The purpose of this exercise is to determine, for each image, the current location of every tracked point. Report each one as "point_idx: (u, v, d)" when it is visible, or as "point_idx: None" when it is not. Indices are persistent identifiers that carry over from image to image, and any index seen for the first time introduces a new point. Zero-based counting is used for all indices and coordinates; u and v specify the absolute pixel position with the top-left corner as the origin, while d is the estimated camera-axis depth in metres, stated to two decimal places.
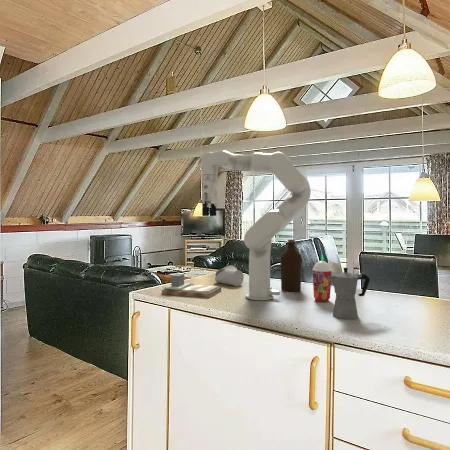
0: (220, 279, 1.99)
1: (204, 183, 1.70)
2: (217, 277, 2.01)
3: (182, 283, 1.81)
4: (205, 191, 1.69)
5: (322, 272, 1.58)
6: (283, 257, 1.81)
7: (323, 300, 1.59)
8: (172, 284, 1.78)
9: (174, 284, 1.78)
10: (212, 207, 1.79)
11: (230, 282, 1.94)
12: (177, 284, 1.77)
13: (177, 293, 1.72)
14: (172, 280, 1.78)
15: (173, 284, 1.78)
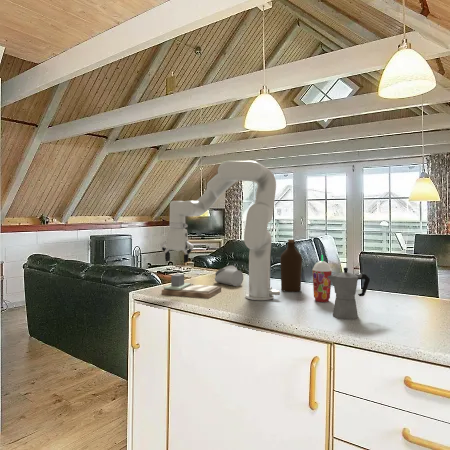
0: (220, 279, 1.99)
1: (184, 231, 1.78)
2: (217, 277, 2.01)
3: (182, 283, 1.81)
4: (186, 239, 1.78)
5: (322, 272, 1.58)
6: (283, 257, 1.81)
7: (323, 300, 1.59)
8: (172, 284, 1.78)
9: (174, 284, 1.78)
10: (168, 253, 1.82)
11: (230, 282, 1.94)
12: (177, 284, 1.77)
13: (177, 293, 1.72)
14: (172, 280, 1.78)
15: (173, 284, 1.78)
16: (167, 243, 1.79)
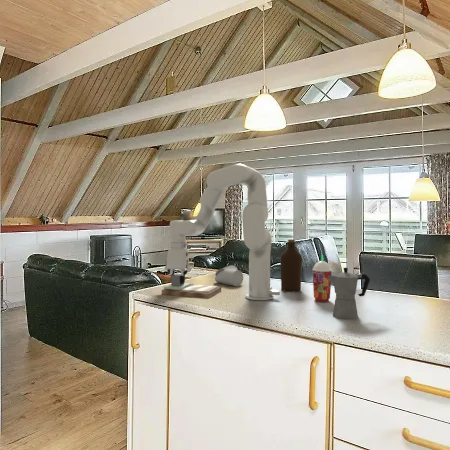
0: (220, 279, 1.99)
1: (185, 251, 1.78)
2: (217, 277, 2.01)
3: None
4: (187, 258, 1.79)
5: (322, 272, 1.58)
6: (283, 257, 1.81)
7: (323, 300, 1.59)
8: (172, 284, 1.78)
9: (174, 284, 1.78)
10: None
11: (229, 282, 1.94)
12: (177, 284, 1.77)
13: (177, 293, 1.72)
14: (172, 280, 1.78)
15: (173, 284, 1.78)
16: (168, 263, 1.80)
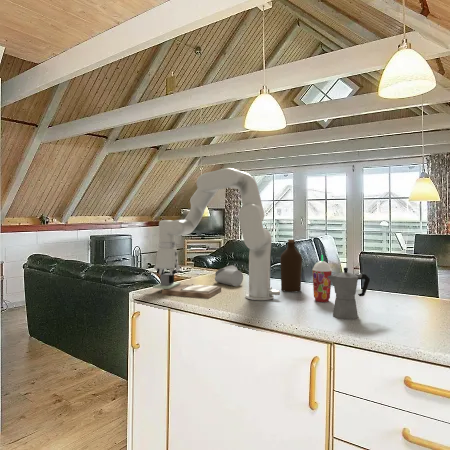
0: (220, 279, 1.99)
1: (174, 250, 1.80)
2: (217, 277, 2.01)
3: None
4: (176, 258, 1.80)
5: (322, 272, 1.58)
6: (283, 257, 1.81)
7: (323, 300, 1.59)
8: (161, 283, 1.80)
9: (163, 283, 1.80)
10: None
11: (229, 282, 1.94)
12: (166, 283, 1.79)
13: (177, 293, 1.72)
14: (161, 279, 1.80)
15: (162, 283, 1.80)
16: (157, 262, 1.81)
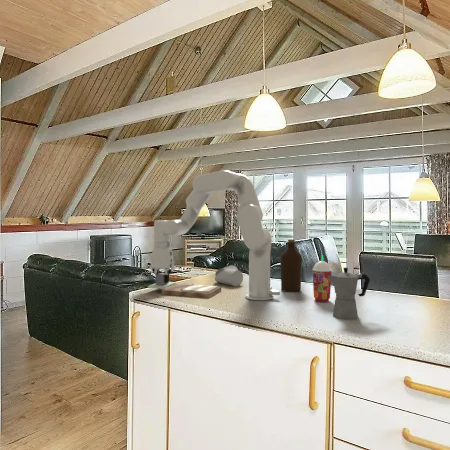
0: (220, 279, 1.99)
1: (169, 250, 1.81)
2: (217, 277, 2.01)
3: None
4: (171, 257, 1.81)
5: (322, 272, 1.58)
6: (283, 257, 1.81)
7: (323, 300, 1.59)
8: (156, 283, 1.81)
9: (158, 283, 1.81)
10: None
11: (229, 282, 1.94)
12: (161, 283, 1.80)
13: (177, 293, 1.72)
14: (156, 279, 1.81)
15: (157, 283, 1.81)
16: (152, 262, 1.82)
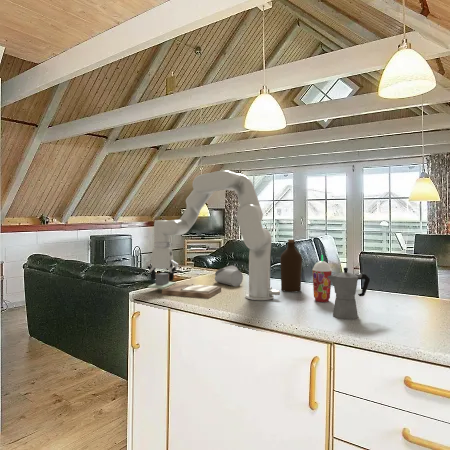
0: (219, 279, 1.99)
1: (169, 250, 1.81)
2: (217, 277, 2.01)
3: (166, 282, 1.84)
4: (171, 257, 1.81)
5: (322, 272, 1.58)
6: (283, 257, 1.81)
7: (323, 300, 1.59)
8: (156, 283, 1.81)
9: (158, 283, 1.81)
10: (153, 271, 1.84)
11: (229, 282, 1.94)
12: (161, 283, 1.80)
13: (177, 293, 1.72)
14: (156, 279, 1.81)
15: (157, 283, 1.81)
16: (152, 262, 1.82)
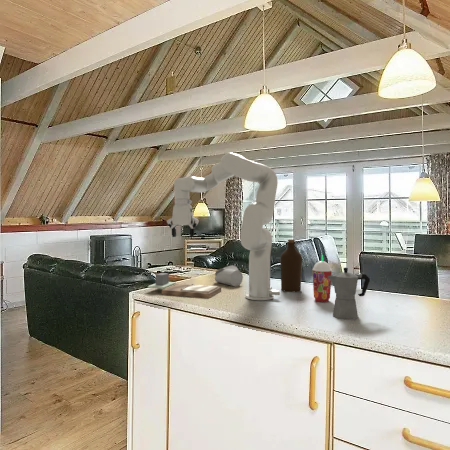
0: (219, 279, 2.00)
1: (189, 207, 1.86)
2: (217, 277, 2.01)
3: (166, 282, 1.84)
4: (191, 214, 1.87)
5: (322, 272, 1.58)
6: (283, 257, 1.81)
7: (323, 300, 1.59)
8: (156, 283, 1.81)
9: (158, 283, 1.81)
10: (174, 229, 1.90)
11: (229, 282, 1.94)
12: (161, 283, 1.80)
13: (177, 293, 1.72)
14: (156, 279, 1.81)
15: (157, 283, 1.81)
16: (173, 219, 1.88)
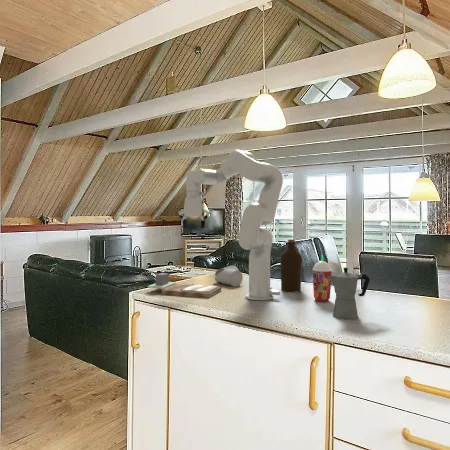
0: (219, 279, 2.00)
1: (201, 199, 1.90)
2: (217, 277, 2.01)
3: (166, 282, 1.84)
4: (202, 206, 1.90)
5: (322, 272, 1.58)
6: (283, 257, 1.81)
7: (323, 300, 1.59)
8: (156, 283, 1.81)
9: (158, 283, 1.81)
10: (185, 220, 1.93)
11: (228, 282, 1.94)
12: (161, 283, 1.80)
13: (177, 293, 1.72)
14: (156, 279, 1.81)
15: (157, 283, 1.81)
16: (185, 210, 1.91)
